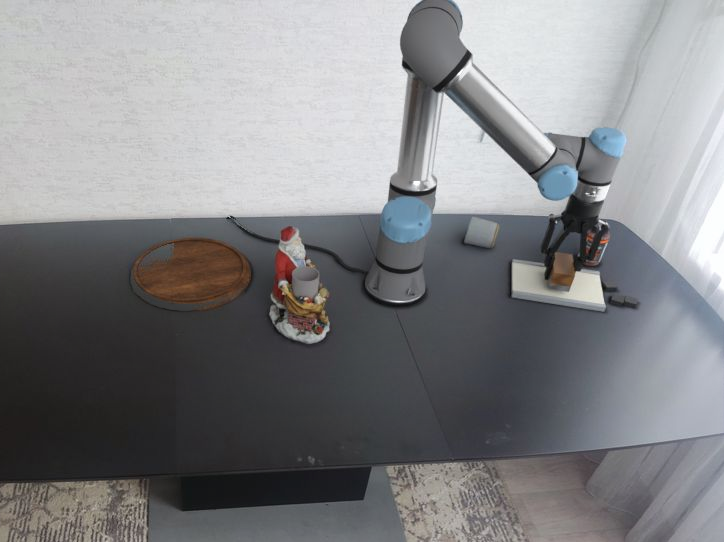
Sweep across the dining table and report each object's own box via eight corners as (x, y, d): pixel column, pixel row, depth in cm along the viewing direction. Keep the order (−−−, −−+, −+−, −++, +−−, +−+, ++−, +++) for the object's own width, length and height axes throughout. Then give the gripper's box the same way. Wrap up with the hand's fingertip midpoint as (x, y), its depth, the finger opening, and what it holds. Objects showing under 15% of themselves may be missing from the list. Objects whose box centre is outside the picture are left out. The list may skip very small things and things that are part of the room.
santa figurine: (335, 344, 153) (344, 252, 137) (276, 349, 152) (278, 257, 135) (321, 301, 166) (327, 213, 149) (266, 306, 164) (266, 217, 148)
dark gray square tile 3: (622, 304, 164) (624, 300, 164) (624, 299, 166) (626, 295, 166) (634, 308, 163) (636, 304, 163) (636, 302, 165) (638, 298, 164)
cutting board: (121, 254, 183) (119, 246, 181) (231, 235, 190) (231, 227, 188) (142, 322, 160) (140, 313, 158) (267, 297, 167) (267, 289, 165)
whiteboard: (511, 297, 167) (512, 292, 166) (511, 263, 179) (512, 258, 178) (604, 311, 162) (606, 307, 161) (597, 275, 174) (599, 271, 173)
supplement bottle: (575, 264, 178) (589, 227, 171) (576, 253, 183) (589, 217, 175) (599, 269, 177) (614, 232, 169) (599, 257, 181) (613, 221, 173)
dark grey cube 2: (605, 291, 169) (606, 287, 168) (600, 284, 171) (602, 281, 170) (615, 291, 169) (617, 287, 168) (611, 284, 171) (613, 281, 170)
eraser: (548, 288, 166) (553, 272, 163) (546, 267, 173) (552, 251, 170) (568, 292, 165) (575, 275, 162) (566, 270, 172) (572, 254, 169)
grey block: (609, 303, 165) (611, 299, 164) (611, 297, 167) (613, 293, 166) (621, 306, 164) (623, 302, 163) (623, 301, 166) (625, 297, 165)
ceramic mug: (492, 253, 182) (498, 229, 177) (462, 247, 185) (467, 223, 180) (496, 236, 190) (503, 212, 185) (467, 230, 192) (473, 206, 187)
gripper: (547, 198, 153) (521, 280, 168) (631, 209, 149) (596, 292, 164) (546, 184, 158) (520, 265, 174) (627, 194, 155) (593, 276, 170)
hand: (557, 278), depth 169 cm, fingers closed on eraser, 5 cm apart
